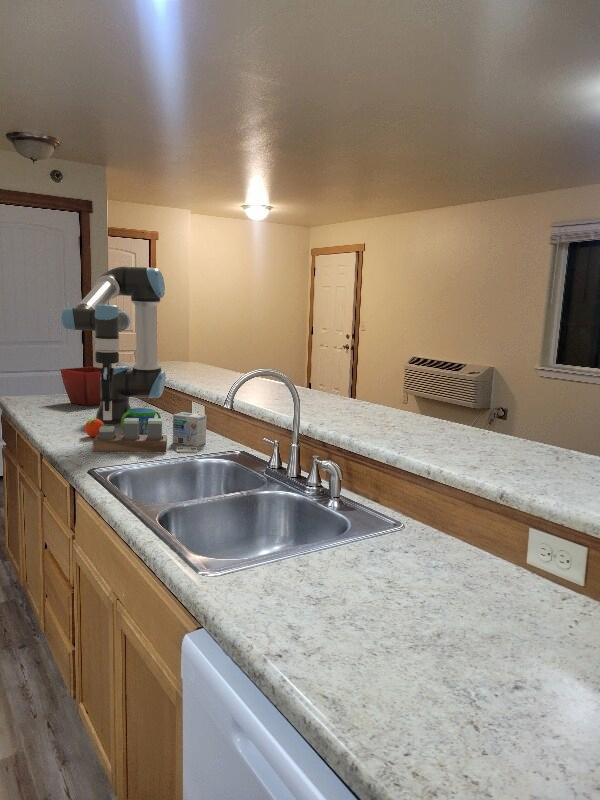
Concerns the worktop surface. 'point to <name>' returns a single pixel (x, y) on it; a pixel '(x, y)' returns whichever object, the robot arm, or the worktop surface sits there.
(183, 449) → the card
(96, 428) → the tomato
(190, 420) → the light bulb box
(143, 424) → the snack cup
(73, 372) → the plant pot
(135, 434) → the button mid
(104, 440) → the button board
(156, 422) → the button far
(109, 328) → the robot arm
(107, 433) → the button near
